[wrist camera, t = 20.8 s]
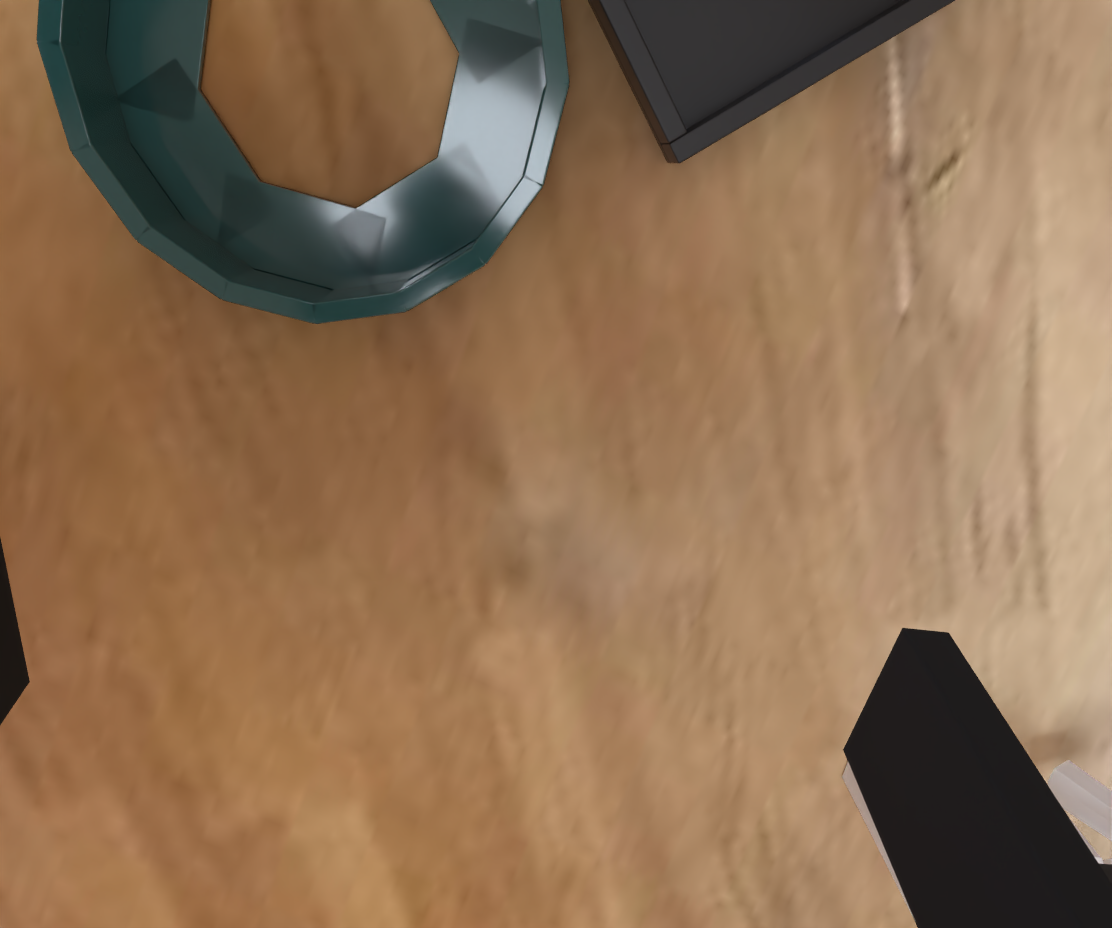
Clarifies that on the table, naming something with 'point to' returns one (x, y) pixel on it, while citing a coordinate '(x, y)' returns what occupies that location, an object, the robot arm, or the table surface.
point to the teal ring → (290, 216)
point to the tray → (738, 56)
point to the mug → (1066, 782)
